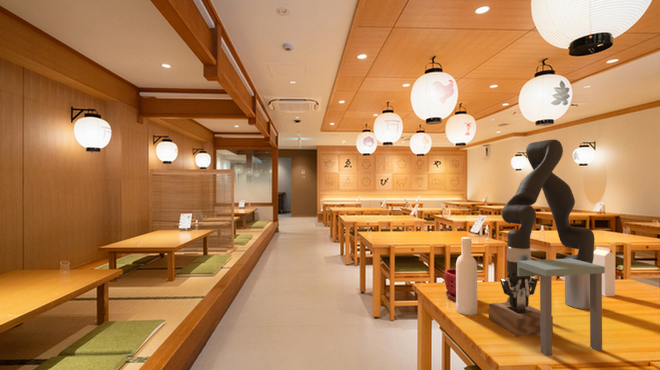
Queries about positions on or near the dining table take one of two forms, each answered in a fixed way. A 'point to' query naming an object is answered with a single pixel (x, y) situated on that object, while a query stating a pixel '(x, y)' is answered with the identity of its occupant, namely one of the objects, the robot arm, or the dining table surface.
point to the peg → (521, 301)
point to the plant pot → (450, 283)
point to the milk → (606, 269)
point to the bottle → (466, 280)
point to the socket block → (516, 319)
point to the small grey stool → (546, 271)
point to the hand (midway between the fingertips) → (519, 306)
